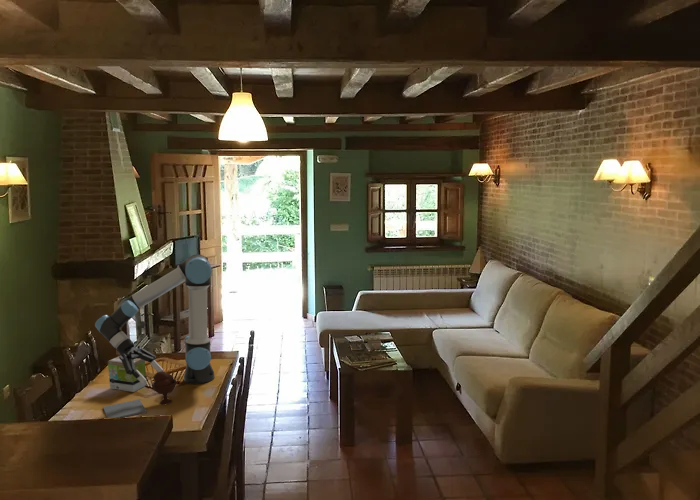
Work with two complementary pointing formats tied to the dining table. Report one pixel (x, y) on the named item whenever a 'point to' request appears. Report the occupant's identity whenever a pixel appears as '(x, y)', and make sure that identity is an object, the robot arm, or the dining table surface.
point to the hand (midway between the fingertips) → (153, 376)
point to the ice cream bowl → (164, 385)
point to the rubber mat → (124, 409)
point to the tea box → (125, 375)
